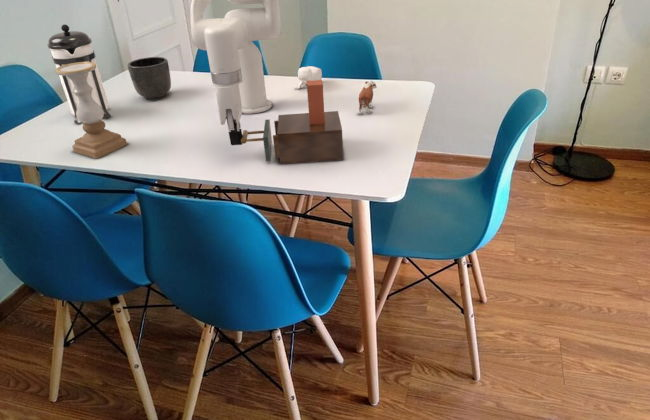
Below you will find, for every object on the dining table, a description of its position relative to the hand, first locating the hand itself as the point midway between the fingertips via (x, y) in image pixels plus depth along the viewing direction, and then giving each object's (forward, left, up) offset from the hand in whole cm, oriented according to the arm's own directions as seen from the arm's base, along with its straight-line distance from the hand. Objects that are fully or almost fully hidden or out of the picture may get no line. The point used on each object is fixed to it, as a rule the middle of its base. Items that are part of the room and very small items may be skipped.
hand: (237, 143), depth 134 cm
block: (+20, +9, +5) cm, 23 cm away
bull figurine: (+23, +43, -4) cm, 49 cm away
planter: (-57, +37, -4) cm, 68 cm away
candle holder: (-43, -7, -4) cm, 44 cm away
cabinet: (+18, +8, -4) cm, 20 cm away
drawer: (+11, +5, -3) cm, 13 cm away
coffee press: (-67, +15, -4) cm, 69 cm away
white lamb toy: (-5, +60, -4) cm, 61 cm away
